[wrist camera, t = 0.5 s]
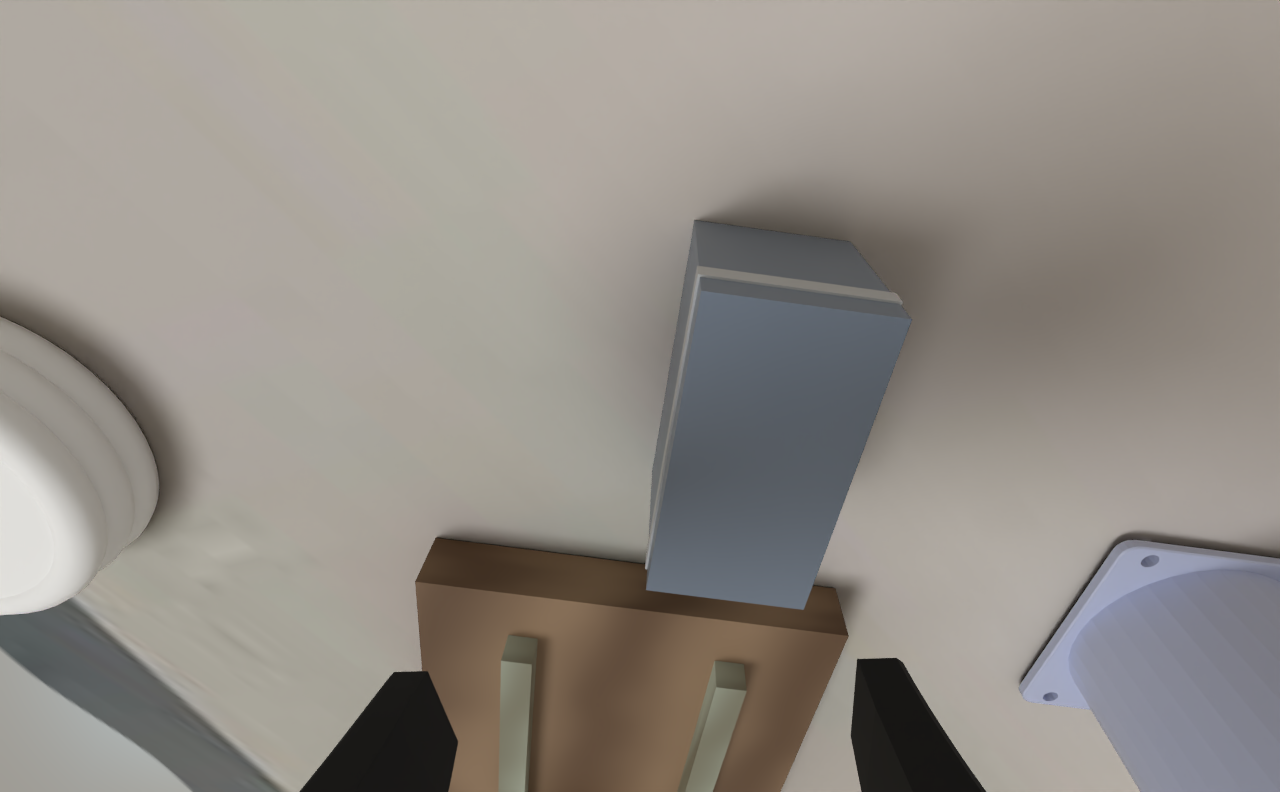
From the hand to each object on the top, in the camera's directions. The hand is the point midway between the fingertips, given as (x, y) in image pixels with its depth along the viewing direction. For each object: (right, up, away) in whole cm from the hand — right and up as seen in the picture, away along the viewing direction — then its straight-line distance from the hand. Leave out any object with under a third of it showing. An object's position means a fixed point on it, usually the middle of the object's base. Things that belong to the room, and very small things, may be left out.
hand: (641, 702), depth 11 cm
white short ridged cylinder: (-21, +4, +10) cm, 23 cm away
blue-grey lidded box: (+3, +6, +7) cm, 10 cm away
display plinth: (-1, -7, +15) cm, 16 cm away
